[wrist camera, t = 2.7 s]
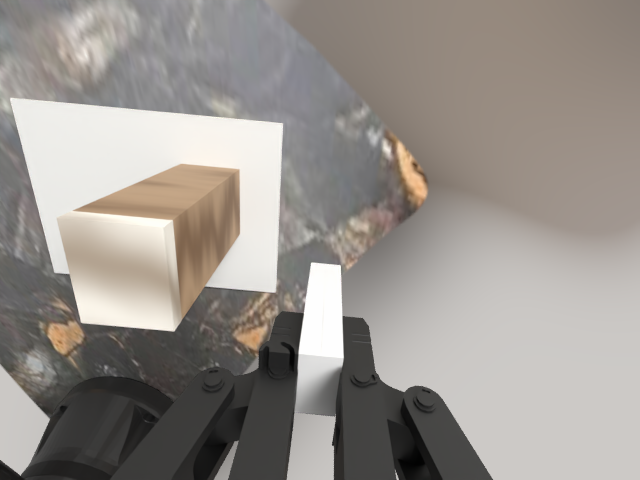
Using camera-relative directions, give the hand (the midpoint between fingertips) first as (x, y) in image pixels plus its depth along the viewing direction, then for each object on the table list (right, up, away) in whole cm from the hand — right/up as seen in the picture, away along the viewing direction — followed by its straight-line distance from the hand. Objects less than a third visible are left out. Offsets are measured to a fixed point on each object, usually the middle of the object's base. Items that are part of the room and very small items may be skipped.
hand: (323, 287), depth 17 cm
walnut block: (-10, +6, +12) cm, 17 cm away
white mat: (-15, +6, +13) cm, 21 cm away
